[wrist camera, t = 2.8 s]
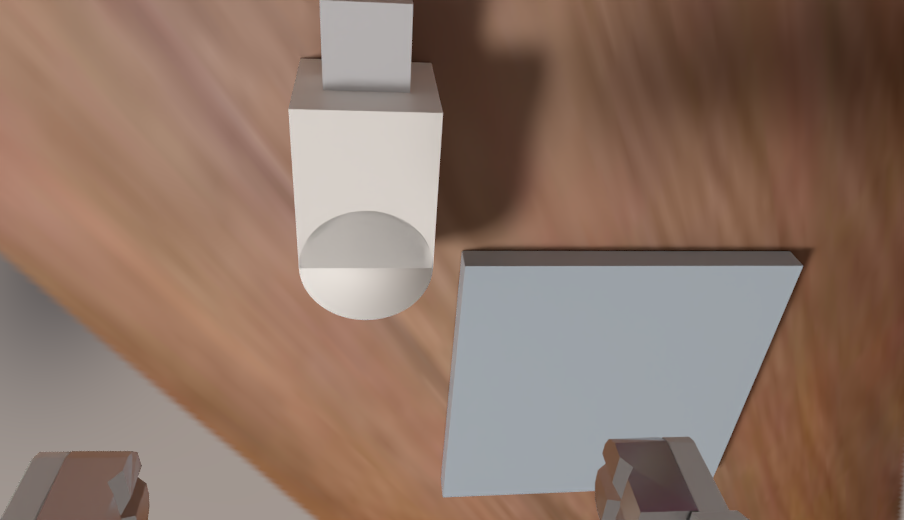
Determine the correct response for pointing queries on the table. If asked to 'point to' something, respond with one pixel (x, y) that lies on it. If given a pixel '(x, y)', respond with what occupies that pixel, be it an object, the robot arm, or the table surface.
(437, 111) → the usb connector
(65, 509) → the robot arm
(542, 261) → the grey pad
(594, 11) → the table surface
